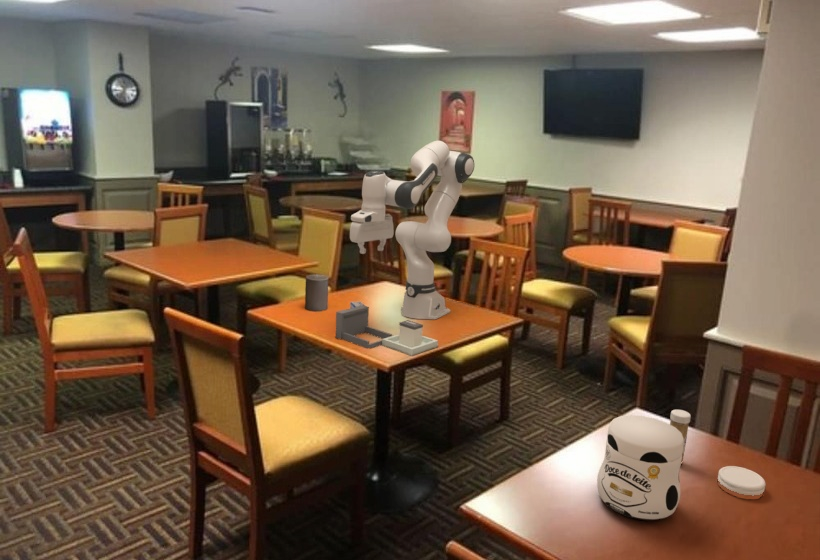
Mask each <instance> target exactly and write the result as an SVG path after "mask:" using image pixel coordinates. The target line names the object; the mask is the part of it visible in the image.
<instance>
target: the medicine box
mask: <svg viewBox="0 0 820 560" xmlns="http://www.w3.org/2000/svg"><path fill="white" fill-rule="evenodd" d="M349 305H350V306H349V308H354V307H358V306H362V305H364V306H366V305H365V304H364V303H363V302H362V301H351V302H350V304H349Z"/></svg>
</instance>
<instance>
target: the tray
mask: <svg viewBox="0 0 820 560" xmlns="http://www.w3.org/2000/svg"><path fill="white" fill-rule="evenodd" d="M381 340H382V345H383V347H385V346H386V348H388V347H389V348H388V349H391V350H394V351H396V350H397V352H399V351H400V353H403V354H406V355H409V356H411V357H412V356H416V355H419V354H421V353H425V352H427V351H430V350H433V349H436V348H438V347H439V339H434V338H431V337H428V336H424V335H422V343H421V345H419V346H416V347H413V348H411V347H408V346H405V345H402V344H399V333H397V334H394V335H392V336H391V337H388V338H384V339H383V338H381ZM382 345H381V346H382Z"/></svg>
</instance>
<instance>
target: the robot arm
mask: <svg viewBox="0 0 820 560" xmlns="http://www.w3.org/2000/svg"><path fill="white" fill-rule="evenodd" d="M410 169H411V171H412V173H413V174H414V176H415V178H414V180H409V181H407V180H406V181H405V180H396V179H392V178H390V177H389V176H387V175H386V173H385V172H384V171H383V170H371V171H367V172H366V173H365V174H364V176H363V180H362V187H361V197H362V202H361V203H362V204H361V207H360V208H361V209H359V210H358V211H357V212H355V213H353V214H351V216H350V221H352V222H351V223H350V226H349V227H350V228H349V239H350V241H351V242H352V243H357V246H358V247H359V253H360V254H362V255H364V254H366V252H367V248H365V246H364V245H365V243H366V242H374V241H379V242H380V243H379V244H378V245H377V251H379V252H383V251H384V247H385V245H386V242H387V240H388V239H392V238H393V237H394V233H395V239H396V241H397V242H398V244H400V246H401V249H402V250H403V251H404V255H405V258H406V263H407V265H406V267H407V268H406V269H407V275H406V276H407V278H406V281H405V292H404V295H403V301H402V307H400V308H401V309H400V311H401V315H402V316H404V317H406V318H409V319H414V320H415V319H416V320H417V319H418V320H437V319H439V318H441V317H444V316H446V315H447V314H450V313H451V309H450V308H448V307H446V299H445V297H444V296H442V295H441V293H440V292H438V290H436V289H437V288H439V287H440V286H441V284H440V282H437V281H434V278H435V277H434V276H435V264H434V262H433V261H432V260H431V259H430V257H429V256H428V254H427V252H429V253H430V252H431V253H442V252H446V251H447V250H448V249H449V247H450V246H451V243H452V235H451V233H450V230H449V229H448V220H449V218H450V216H451V214H452V212H453V210H454V209H455V206H456V205H457V203H458V201H459V199H460V198H459V197H460V196H461V193H462V189H463V185H462V184H463V183H465V182H466V181H467V180H468V179H469V178H470V177H471V176H472V175H473V172H474V170H475V160H474V157H473V156H472V155H470V154H469V153H466V152H459V151H455V150H450V147H449V146H448V144H447V143H445V142H444V141H443V140H434V141H431V142H429V143H427V144H426V145H424V146H423V147H421V148H419V149H418V150H417V151H416V152H414V154H413V155H412V157H411V158H410ZM437 177H440V182H438V183H437V184H436V186H435V188H434V189H433V190H432V193H431V194H430V197H429V198H428V199H427V202H426V203H425V205H424V214H425V215H426V217H427V221H426V222H420V221H415V220H414V221H413V220H410V221H402V222H400V223H399V224H398V225H397V227H396V229H395V230H394V222H393V216H392V215H391V214H390V213H386V205H387V206H392V207H399V208H403V209H406V210H411V209H413V208H415V207H416V206H417V205H418V204H419V202H420V200H421V199H422V196H423V195H424V194H425V193H426V191H427V190H428V189H429V188H430V187H431V185H432V184H433V183H434V181H435V180H436V179H437Z"/></svg>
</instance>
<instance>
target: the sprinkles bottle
mask: <svg viewBox="0 0 820 560" xmlns="http://www.w3.org/2000/svg"><path fill="white" fill-rule="evenodd" d="M691 418H692V417H691V413H689V412H688V411H686V410H683V409H673V410H671V412H670V418H669V419H670V422H669V424H670V425H672V426H674V427H675V428H676V429H678V430H679V431H680V432H681V433H682V436H683V440H684V445H683V452H682V460H681V462H682V461H683V462H684V456H685V451H686V444H687V438H688V432H689V431H688V430H689V424H690V422H691Z"/></svg>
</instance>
